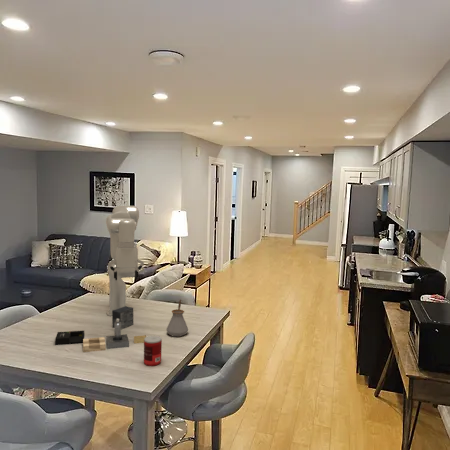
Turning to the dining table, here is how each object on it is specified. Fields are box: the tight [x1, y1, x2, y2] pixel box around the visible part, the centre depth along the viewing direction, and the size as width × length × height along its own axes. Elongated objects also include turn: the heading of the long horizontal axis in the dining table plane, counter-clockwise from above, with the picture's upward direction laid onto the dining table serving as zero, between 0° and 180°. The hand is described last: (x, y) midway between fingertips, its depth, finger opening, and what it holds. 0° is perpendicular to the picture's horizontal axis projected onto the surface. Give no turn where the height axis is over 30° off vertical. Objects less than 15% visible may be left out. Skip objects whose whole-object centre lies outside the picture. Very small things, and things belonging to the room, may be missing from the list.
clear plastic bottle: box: [113, 318, 122, 341], centre depth 202 cm, size 3×3×13 cm
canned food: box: [143, 335, 163, 367], centre depth 183 cm, size 8×8×11 cm
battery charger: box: [54, 330, 85, 346], centre depth 205 cm, size 13×10×4 cm
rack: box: [82, 336, 107, 353], centre depth 198 cm, size 10×10×3 cm
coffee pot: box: [166, 299, 189, 338], centre depth 223 cm, size 21×12×15 cm, turn 1°
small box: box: [111, 306, 134, 330], centre depth 227 cm, size 11×6×10 cm, turn 149°
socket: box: [105, 334, 130, 350], centre depth 202 cm, size 10×10×3 cm
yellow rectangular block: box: [133, 334, 147, 344], centre depth 206 cm, size 3×6×3 cm, turn 109°
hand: (126, 279), depth 204 cm, fingers open, 9 cm apart
